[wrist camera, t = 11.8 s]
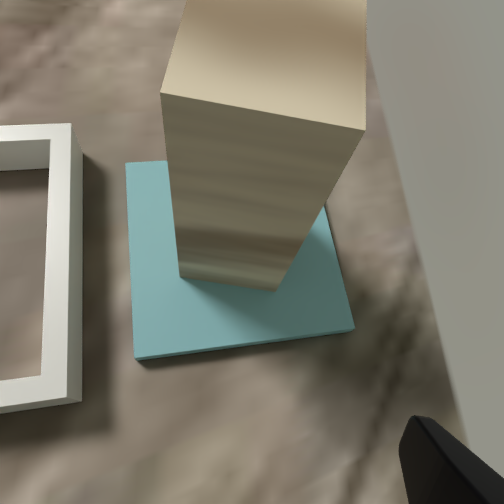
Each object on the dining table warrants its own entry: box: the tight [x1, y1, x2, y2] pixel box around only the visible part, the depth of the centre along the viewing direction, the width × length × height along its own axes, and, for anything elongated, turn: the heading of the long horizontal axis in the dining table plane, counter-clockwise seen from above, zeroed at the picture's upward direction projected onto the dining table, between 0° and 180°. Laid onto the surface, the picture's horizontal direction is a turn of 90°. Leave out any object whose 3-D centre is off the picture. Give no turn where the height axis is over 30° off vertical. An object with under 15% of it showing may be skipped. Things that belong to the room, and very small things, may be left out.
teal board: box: [126, 161, 355, 361], centre depth 23 cm, size 11×11×1 cm
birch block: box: [160, 0, 367, 292], centre depth 17 cm, size 5×5×12 cm
